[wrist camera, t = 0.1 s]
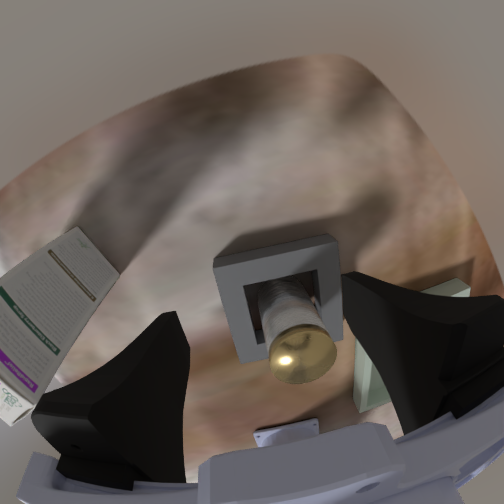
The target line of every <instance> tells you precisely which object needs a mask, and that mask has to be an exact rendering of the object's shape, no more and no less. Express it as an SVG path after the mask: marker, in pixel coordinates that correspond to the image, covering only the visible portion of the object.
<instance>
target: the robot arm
mask: <svg viewBox="0 0 504 504" xmlns="http://www.w3.org/2000/svg"><path fill="white" fill-rule="evenodd" d="M341 277H342V293H343V314H344V316H345V318H346V321H347V323H348V325H349V327H350V329H351V331H352V333H353V334H354V336H355V337H356V339H357V340H358V342H359V343H360V345H361V346H362V348H363V349H364V350H365V352H366V353H367V355H368V356H369V358H370V359H371V361H372V362H373V364H374V365H375V367H376V369H377V371H378V372H379V374H380V376H381V378H382V381H383V383H384V385H385V387H386V389H387V391H388V394H389V396H390V398H391V401H392V403H393V405H394V408H395V411H396V413H397V416H398V419H399V421H400V424H401V427H402V430H403V433H404V436H402V437H399V438H397V439H395V440H393V438H392V436H391V434H390V432H389V430H388V428H387V427H386V425H382V424H377V423H372V422H365V423H360V424H356V425H351V426H346V427H343V428H339V429H336V430H333V431H329V432H326V433H322V434H319V422H318V419H317V418H313V419H310V420H306V421H302V422H297V423H293V424H289V425H284V426H279V427H274V428H269V429H263V430H258V431H255V432H254V433H253V434H254V437H255V440H256V442H257V445H258V448H252V449H245V450H237V451H232V452H228V453H224V454H219V455H215V456H213V457H211V458H209V459H208V460H207V461H205V462H204V463H203V464H201V465H200V466H199V471H198V483H186V476H185V467H184V455H183V409H184V401H185V395H186V389H187V382H188V376H189V369H190V346H189V344H188V341H187V339H186V336H185V334H184V331H183V329H182V326H181V324H180V321H179V318H178V316H177V313H176V311H171V312H166V313H162V314H161V315H160V316H158V317H157V318H156V319H155V320H154V321H153V322H152V323H151V324H150V325H149V326H148V327H147V328H146V329H145V330H144V331H143V332H142V333H141V334H140V335H139V336H138V337H137V338H136V339H135V340H134V341H133V342H132V343H130V344H129V345H128V346H127V347H126V348H125V349H124V350H123V351H122V352H120V353H119V354H118V355H117V356H115V357H114V358H113V359H112V360H110V361H109V362H107V363H106V364H105V365H103V366H102V367H100V368H98V369H97V370H95V371H94V372H92V373H90V374H89V375H87V376H85V377H83V378H81V379H79V380H77V381H75V382H73V383H71V384H69V385H67V386H64V387H62V388H59V389H56V390H53V391H51V392H48V393H44V394H43V395H42V396H41V398H40V400H39V401H38V403H37V405H36V407H35V409H34V411H33V412H32V415H31V419H32V422H33V424H34V426H35V428H36V429H37V431H38V432H39V433H40V434H41V435H42V436H43V437H44V438H45V439H46V440H47V441H48V442H49V443H50V444H51V445H52V446H53V447H54V448H55V449H56V450H57V451H58V452H59V453H61V457H60V459H59V460H57V459H56V458H54V457H52V456H48V455H45V454H41V453H38V452H33V454H32V456H31V458H30V460H29V463H28V465H27V468H26V470H25V473H24V475H23V478H22V481H21V483H20V486H19V489H18V492H17V495H16V497H17V498H18V499H19V500H20V501H22V502H23V503H25V504H464V502H463V500H462V498H461V496H460V494H459V492H458V490H457V489H458V488H460V487H461V486H463V485H464V484H465V483H467V482H468V481H469V480H471V479H472V478H474V477H475V476H476V475H478V474H479V473H480V472H481V471H483V470H484V469H485V468H486V467H488V466H489V465H490V464H491V463H492V462H493V461H495V460H496V459H497V458H498V457H499V456H500V455H502V454H503V453H504V347H503V345H504V299H503V298H501V297H500V296H498V295H489V296H478V297H452V296H441V295H433V294H427V293H422V292H418V291H413V290H409V289H406V288H403V287H399V286H396V285H393V284H390V283H387V282H384V281H382V280H379V279H376V278H373V277H371V276H368V275H365V274H362V273H359V272H355V271H353V272H349V273H346V274H342V275H341Z"/></svg>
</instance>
